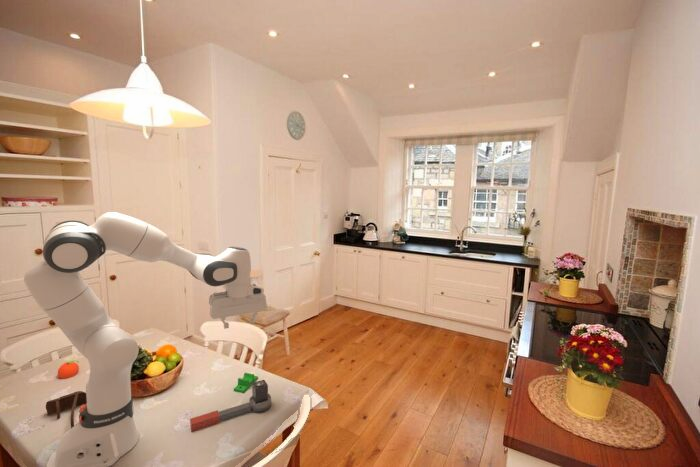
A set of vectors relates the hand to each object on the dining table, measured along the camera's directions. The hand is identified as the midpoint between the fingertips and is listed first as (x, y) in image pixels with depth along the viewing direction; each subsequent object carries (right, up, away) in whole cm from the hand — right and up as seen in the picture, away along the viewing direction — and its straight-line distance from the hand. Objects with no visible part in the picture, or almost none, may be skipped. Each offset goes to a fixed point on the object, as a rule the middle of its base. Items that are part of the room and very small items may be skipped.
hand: (239, 325), depth 122 cm
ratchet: (-1, -32, -4) cm, 32 cm away
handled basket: (-57, -31, -8) cm, 65 cm away
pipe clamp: (+2, -27, +16) cm, 31 cm away
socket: (+8, -28, +1) cm, 29 cm away
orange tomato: (-79, -28, +18) cm, 86 cm away
